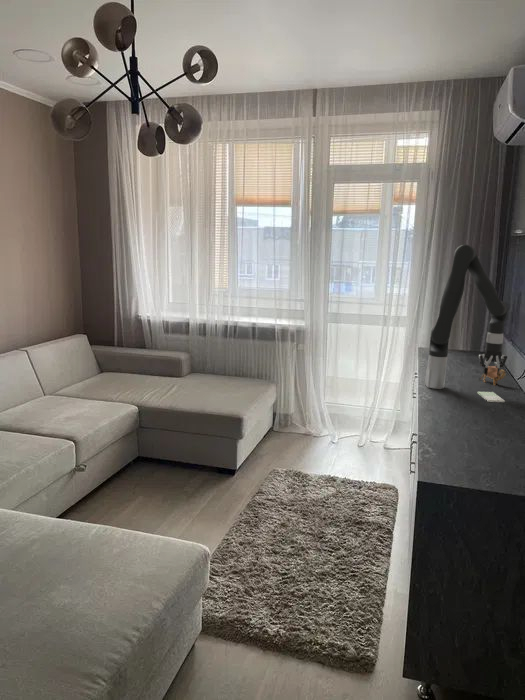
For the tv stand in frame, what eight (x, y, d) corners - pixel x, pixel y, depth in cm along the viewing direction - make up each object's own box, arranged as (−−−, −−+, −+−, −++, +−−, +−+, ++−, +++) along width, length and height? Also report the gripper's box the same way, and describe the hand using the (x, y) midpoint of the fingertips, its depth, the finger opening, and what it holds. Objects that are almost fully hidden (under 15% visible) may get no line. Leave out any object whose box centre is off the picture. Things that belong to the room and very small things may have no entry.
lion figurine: (505, 385, 275) (508, 369, 273) (500, 387, 272) (502, 371, 270) (480, 379, 286) (482, 364, 284) (475, 380, 283) (477, 365, 281)
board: (487, 401, 246) (488, 400, 246) (477, 393, 260) (477, 391, 260) (504, 402, 246) (504, 400, 246) (492, 393, 259) (493, 392, 259)
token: (487, 376, 252) (488, 368, 251) (484, 374, 256) (485, 366, 255) (496, 377, 252) (497, 368, 251) (493, 374, 256) (494, 366, 255)
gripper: (482, 342, 247) (479, 376, 250) (512, 343, 246) (508, 377, 250) (477, 339, 254) (473, 372, 258) (505, 340, 254) (501, 373, 257)
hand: (490, 374), depth 254 cm, fingers closed on token, 4 cm apart
